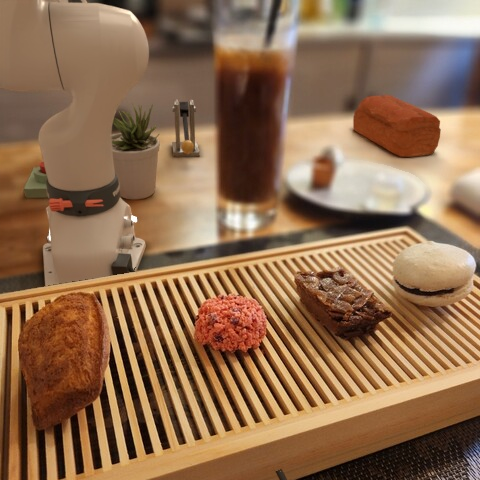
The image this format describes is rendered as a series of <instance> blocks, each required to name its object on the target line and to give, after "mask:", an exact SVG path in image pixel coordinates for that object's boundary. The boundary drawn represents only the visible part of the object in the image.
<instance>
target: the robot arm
mask: <svg viewBox="0 0 480 480" xmlns="http://www.w3.org/2000/svg"><path fill="white" fill-rule="evenodd" d="M147 37H148V36H147V33H146V31H145V29H144V26H143V25H142V24H141V22H140V20H139V19H138V18H137V16H136V15H135V14H134V13H133V12H132V11H131V10H129V9H125V8H120V7H117V6H114V5H110V4H109V5H108V4H104V3H100V2H88V1H87V0H0V89H1V90H6V91H13V92H21V93H22V92H24V93H25V92H67V93H70V95H71V96H72V101H71V103H70V104H69V105H68V106H67V107H65V108H64V109H63V110H61V111H59V112H57V113H55V114H54V115H52V116H51V117H50V118H48V119H47V120H46V121H45V122H44V123H43V124H42V126H41V127H40V129H39V132H38V145H39V149H40V155H41V157H42V162H44V166H45V170H46V175H47V179H46V186H47V188H46V190H47V196H48V198H47V199H48V205H47V207H45V212H46V215H47V220H48V232H49V233H48V235H47V236H46V242H47V243H45V244H43V246H42V256H43V257H42V258H43V272H44V273H43V274H44V275H43V276H44V287H45V286H48V285H53V284H59V283H65V282H72V281H79V280H85V279H92V278H98V277H104V276H111V275H117V274H124V273H129V272H135V271H136V272H137V271H138V268H139V266H140V264H141V261H142V259H143V255H144V254H145V250H146V248H147V245H146V241H145V240H144V239H142V238H139V237H137V236H136V232H135V227H134V226H135V225H134V223H137V222H138V219H137V216H134V215H132V214H133V213H132V208H131V205H130V204H129V203H127V202H126V201H125V200H124V199H123V198H122V197H121V196H120V183H119V180H118V176H117V174H116V173H115V171H114V163H113V154H112V135H113V134H112V133H113V126H114V124H113V122H114V120H115V119H114V117H116V113H117V112H118V110H119V109H118V108H119V106H120V105H121V103H122V102H123V100H124V99H125V97H126V96H127V94H128V93H129V92H130V91H131V90H132V89H133V88H134V87H136V85H137V84H139V82H140V81H141V80H142V78H143V77H144V75H145V73H146V71H147V68H148V65H149V60H150V47H149V41H148V38H147ZM117 109H118V110H117ZM135 267H136V268H135ZM134 268H135V270H134ZM274 471H275V470H274ZM280 471H281V472H280ZM275 474H276V476H277V477H278V480H288V478H287V476H286V474H285V472H284V471H283V468H282V469H280V470H278V471H275Z"/></svg>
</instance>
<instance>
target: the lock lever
mask: <svg viewBox="0 0 480 480" xmlns="http://www.w3.org/2000/svg"><path fill="white" fill-rule="evenodd" d="M178 104H179V118H182V125H183V127H182V128H183V136H184V137H183V138H184V140H183V141H182V142H183V143H182V145H181V149H182V151H183V152H184V153H186V154H189V153H191V152H192V151H193V150H194V145H193V143H192V142H191V141H190V131H189V124H188V118H190V113H189V101H178Z"/></svg>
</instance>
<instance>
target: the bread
mask: <svg viewBox="0 0 480 480" xmlns="http://www.w3.org/2000/svg"><path fill="white" fill-rule="evenodd" d="M352 119H353V121H352V126H353V128H352V129H353V130H354V131H355V132H356V133H358V134H360V135H362V136H363V137H365V139H368V140H369V141H372V142H373V143H375V144H377V145H379V146H380V147H381V148H384V149H385V150H387V151H388V152H390V153H392V154H393V155H394V156H398V157H402V158H403V157H404V158H406V157H407V158H413V157H421V156H428V155H429V156H430V155H431V154H434V152H435V150H436V149H437V148H438V147H439V142H440V139H441V131H442V130H441V127H440V125H441V120H440V119H439V118H438V116H436V115H434V114H432V113H430V112H428V111H426V110H423V109H421V108H420V107H418V106H415V105H413V104H411V103H408V102H405V101H404V100H401V99H399V98H397V97H395V96H393V95H391V94H381V95H369V96H367V97H365V98H363V99H362V100H360V102H359V104H358V107H357V108H356V109H355V110H354V113H353V118H352Z"/></svg>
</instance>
